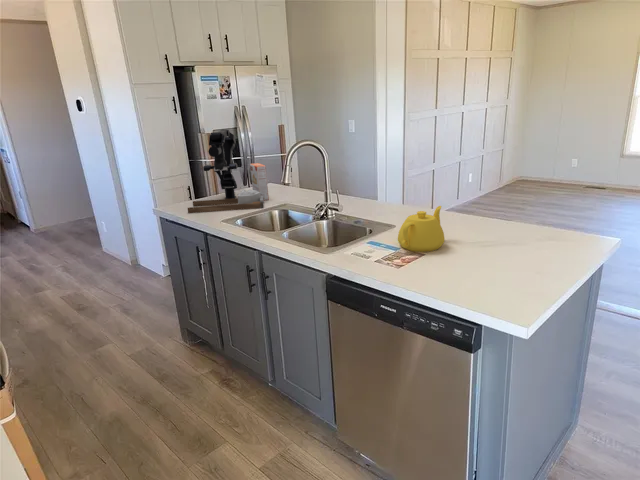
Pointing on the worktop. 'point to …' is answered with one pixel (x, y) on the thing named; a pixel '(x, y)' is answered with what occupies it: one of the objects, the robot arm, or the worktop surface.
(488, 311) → the worktop surface
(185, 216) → the worktop surface
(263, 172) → the cracker box
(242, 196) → the lumpy-topped squat cylinder
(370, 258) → the worktop surface
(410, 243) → the teapot
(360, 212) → the worktop surface
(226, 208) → the guide rails
